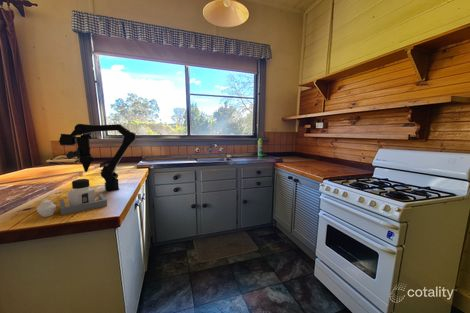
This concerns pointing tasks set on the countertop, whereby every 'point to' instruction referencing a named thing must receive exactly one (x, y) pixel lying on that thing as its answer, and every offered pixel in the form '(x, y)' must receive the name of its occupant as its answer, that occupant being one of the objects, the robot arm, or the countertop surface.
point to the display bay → (83, 205)
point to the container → (81, 192)
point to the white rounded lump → (46, 208)
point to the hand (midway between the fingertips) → (86, 171)
